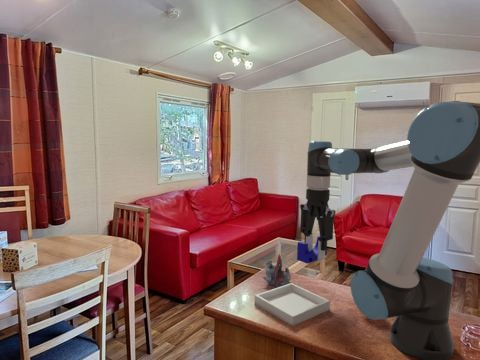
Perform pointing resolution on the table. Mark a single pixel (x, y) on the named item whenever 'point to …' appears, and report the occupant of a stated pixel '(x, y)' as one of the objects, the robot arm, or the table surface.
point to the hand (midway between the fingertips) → (314, 256)
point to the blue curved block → (307, 252)
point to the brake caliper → (276, 273)
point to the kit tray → (292, 303)
